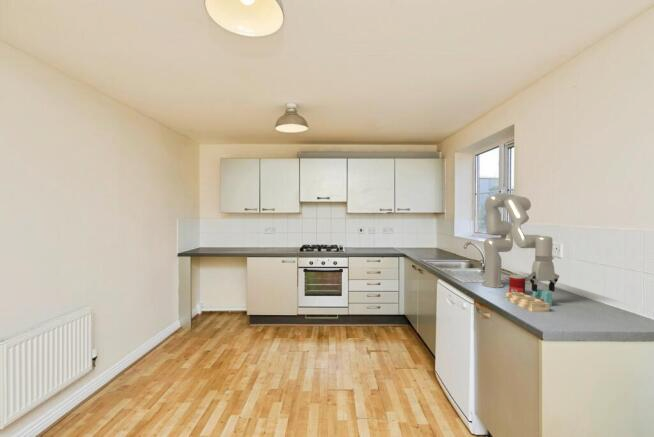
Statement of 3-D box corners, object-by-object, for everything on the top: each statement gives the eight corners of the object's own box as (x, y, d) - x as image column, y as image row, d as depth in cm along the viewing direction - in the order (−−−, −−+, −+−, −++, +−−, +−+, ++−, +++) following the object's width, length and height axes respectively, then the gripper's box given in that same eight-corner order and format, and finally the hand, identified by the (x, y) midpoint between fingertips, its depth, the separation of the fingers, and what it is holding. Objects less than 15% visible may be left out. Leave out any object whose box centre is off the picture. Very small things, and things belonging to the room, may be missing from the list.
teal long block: (532, 300, 174) (532, 288, 173) (537, 300, 174) (537, 288, 173) (546, 306, 164) (546, 293, 163) (551, 306, 164) (551, 293, 164)
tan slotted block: (505, 299, 175) (506, 292, 174) (521, 299, 175) (521, 292, 175) (531, 311, 155) (532, 303, 154) (549, 311, 155) (549, 303, 155)
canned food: (527, 296, 181) (527, 277, 180) (511, 295, 183) (512, 277, 182) (521, 293, 188) (522, 275, 188) (507, 292, 190) (507, 274, 190)
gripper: (553, 258, 172) (552, 289, 172) (523, 258, 171) (522, 289, 171) (564, 260, 164) (564, 292, 165) (533, 260, 163) (532, 293, 163)
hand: (543, 291), depth 168 cm, fingers open, 9 cm apart
